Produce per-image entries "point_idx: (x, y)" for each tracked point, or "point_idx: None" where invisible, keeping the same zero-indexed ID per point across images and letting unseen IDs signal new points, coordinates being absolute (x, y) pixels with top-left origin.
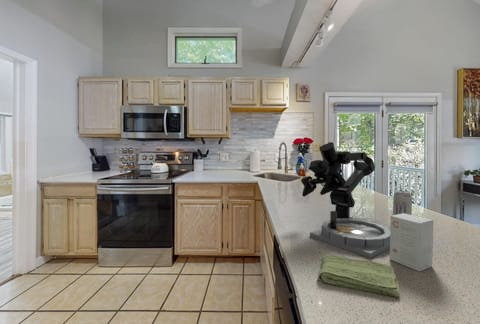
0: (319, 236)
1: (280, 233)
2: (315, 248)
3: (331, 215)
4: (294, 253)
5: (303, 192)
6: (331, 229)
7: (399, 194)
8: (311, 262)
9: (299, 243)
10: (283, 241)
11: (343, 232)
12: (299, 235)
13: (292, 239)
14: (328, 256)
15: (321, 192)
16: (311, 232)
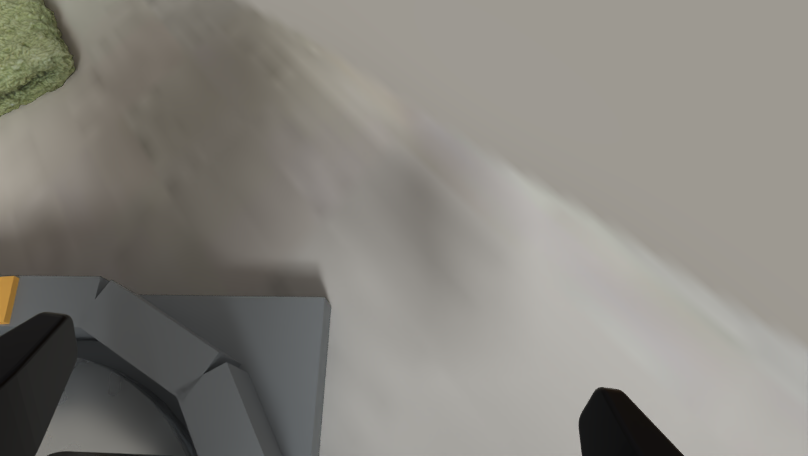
0: (228, 296)
1: (522, 180)
2: (186, 168)
3: (98, 452)
4: (240, 38)
5: (638, 432)
6: (113, 346)
7: None
8: (122, 32)
9: (303, 151)
10: (395, 99)
11: None
12: (399, 260)
13: (380, 164)
14: (18, 43)
15: (23, 327)
16: (313, 305)
